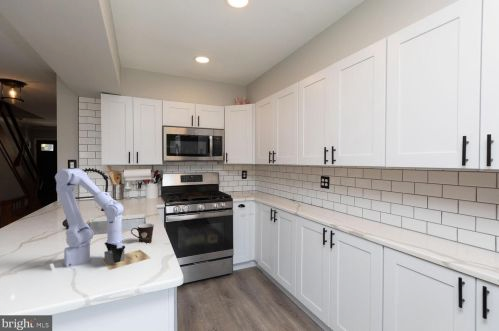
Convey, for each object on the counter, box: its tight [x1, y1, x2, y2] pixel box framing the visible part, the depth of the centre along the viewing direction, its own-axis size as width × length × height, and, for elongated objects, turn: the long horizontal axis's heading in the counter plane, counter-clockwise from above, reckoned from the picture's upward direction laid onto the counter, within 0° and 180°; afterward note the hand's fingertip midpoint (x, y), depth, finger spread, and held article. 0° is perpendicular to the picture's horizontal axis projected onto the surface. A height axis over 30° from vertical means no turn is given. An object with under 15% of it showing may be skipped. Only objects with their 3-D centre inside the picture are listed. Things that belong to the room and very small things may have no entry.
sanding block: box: [103, 249, 125, 266], centre depth 108 cm, size 7×4×5 cm, turn 135°
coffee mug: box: [130, 223, 155, 245], centre depth 137 cm, size 12×9×10 cm
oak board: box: [100, 249, 152, 271], centre depth 111 cm, size 18×14×1 cm
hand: (114, 259), depth 108 cm, fingers open, 7 cm apart
